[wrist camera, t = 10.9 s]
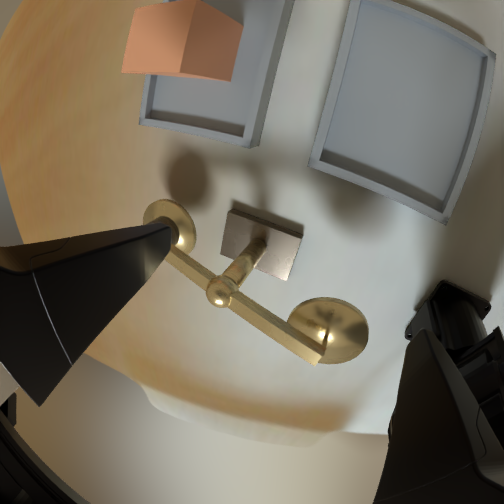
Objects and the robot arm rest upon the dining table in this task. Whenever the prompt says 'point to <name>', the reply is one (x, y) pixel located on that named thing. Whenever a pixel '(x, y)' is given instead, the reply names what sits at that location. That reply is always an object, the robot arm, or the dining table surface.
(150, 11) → the block
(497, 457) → the robot arm
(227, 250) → the balance
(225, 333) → the dining table surface
